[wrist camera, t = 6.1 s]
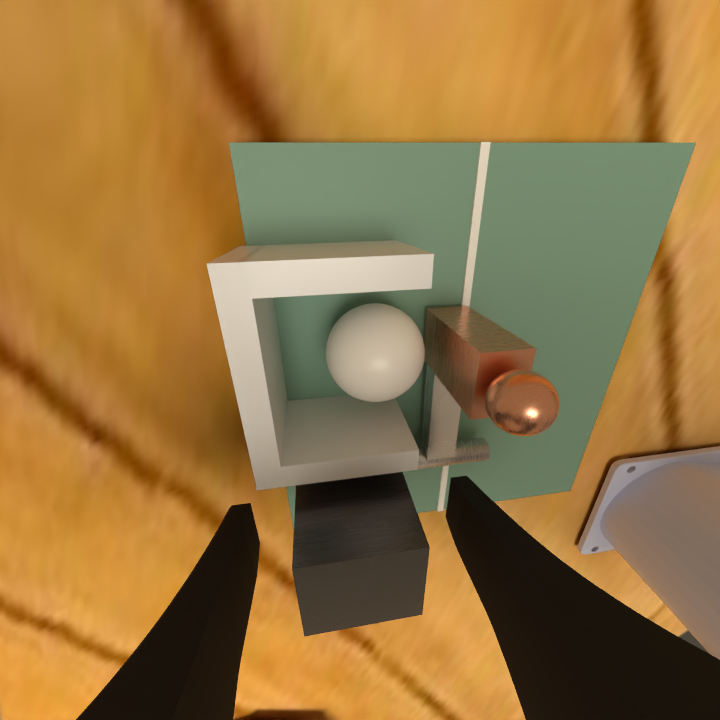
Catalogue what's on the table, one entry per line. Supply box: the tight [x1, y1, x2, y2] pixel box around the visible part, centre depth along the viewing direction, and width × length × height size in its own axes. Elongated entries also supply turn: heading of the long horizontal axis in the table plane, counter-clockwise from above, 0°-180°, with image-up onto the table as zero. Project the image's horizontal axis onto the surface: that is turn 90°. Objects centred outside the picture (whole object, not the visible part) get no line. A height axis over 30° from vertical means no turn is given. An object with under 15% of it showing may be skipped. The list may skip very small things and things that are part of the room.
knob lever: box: [292, 306, 560, 636], centre depth 11 cm, size 9×8×6 cm
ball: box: [326, 303, 425, 402], centre depth 10 cm, size 3×3×3 cm
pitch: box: [229, 142, 696, 530], centre depth 14 cm, size 15×16×1 cm
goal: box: [207, 240, 434, 490], centre depth 10 cm, size 5×7×4 cm
